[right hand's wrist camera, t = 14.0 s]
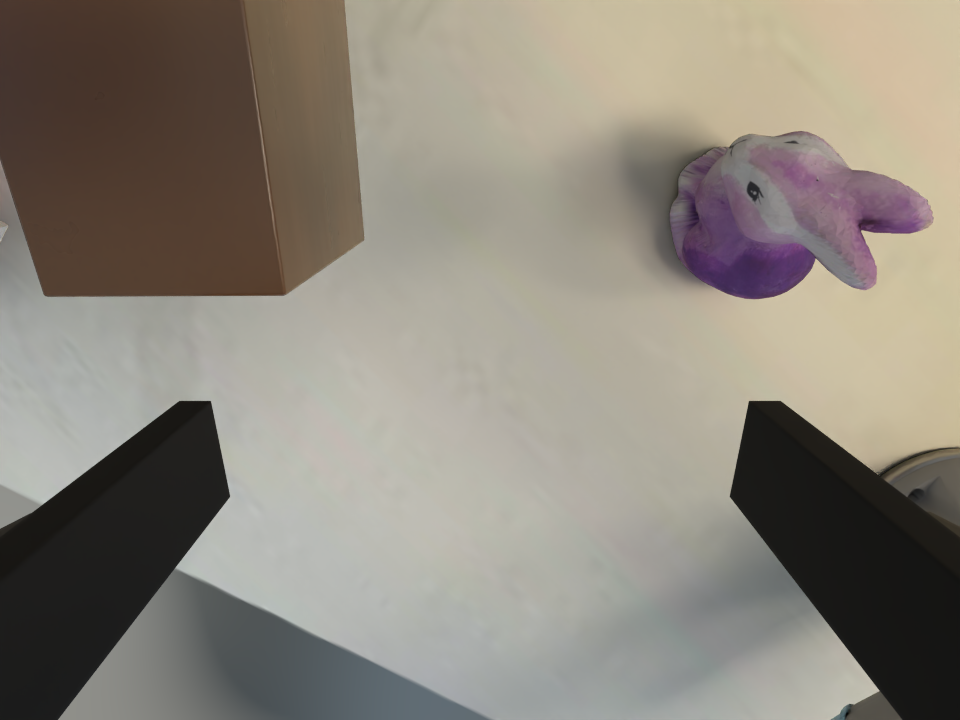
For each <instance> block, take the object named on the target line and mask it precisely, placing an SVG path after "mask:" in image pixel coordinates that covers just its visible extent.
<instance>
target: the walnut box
mask: <svg viewBox="0 0 960 720" xmlns="http://www.w3.org/2000/svg"><path fill="white" fill-rule="evenodd" d="M0 160H1V163H2V166H3V169H4V173H5V176H6V179H7V182H8V185H9V188H10V191H11V194H12V197H13V200H14V204H15V207H16V210H17V213H18V216H19V219H20V222H21V225H22V228H23V231H24V235H25V238H26V241H27V244H28V247H29V250H30V253H31V256H32V259H33V263H34V266H35V269H36V272H37V275H38V278H39V281H40V284H41V287H42V290H43V294H44V295H45V296H47V297H105V296H284V295H286V294H288V293H289V292H291V291H292V290H293V289H295V288H296V287H298V286H299V285H301V284H302V283H303V282H305V281H306V280H308V279H309V278H311V277H312V276H314V275H315V274H316V273H318V272H319V271H321V270H322V269H324V268H325V267H326V266H328V265H329V264H331V263H332V262H334V261H335V260H337V259H338V258H339V257H341V256H342V255H344V254H345V253H347V252H348V251H349V250H351V249H352V248H354V247H355V246H357V245H358V244H359V243H361V242H362V241H364V229H363V217H362V205H361V193H360V181H359V170H358V158H357V146H356V134H355V122H354V110H353V98H352V86H351V75H350V63H349V51H348V39H347V27H346V15H345V3H344V0H0Z"/></svg>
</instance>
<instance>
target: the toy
mask: <svg viewBox="0 0 960 720" xmlns="http://www.w3.org/2000/svg"><path fill="white" fill-rule="evenodd" d="M8 226H9V225H7V224H5V223H3V222H2V221H0V242H1V240H2V238H3V236H4V234H5V232H6V230H7V228H8Z"/></svg>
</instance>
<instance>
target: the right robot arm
mask: <svg viewBox="0 0 960 720" xmlns="http://www.w3.org/2000/svg"><path fill="white" fill-rule="evenodd" d="M229 497H230V494H229V489H228V484H227V479H226V474H225V469H224V464H223V459H222V454H221V449H220V444H219V439H218V434H217V429H216V424H215V419H214V414H213V409H212V404H211V401H179V402H178V403H176V404H175V405H174V406H172V407H171V408H170V409H168V410H167V411H166V412H164V413H163V414H162V415H160V416H159V417H158V418H156V419H155V420H154V421H152V422H151V423H150V424H149V425H147V426H146V427H145V428H143V429H142V430H141V431H139V432H138V433H137V434H135V435H134V436H133V437H131V438H130V439H129V440H127V441H126V442H125V443H123V444H122V445H121V446H120V447H118V448H117V449H116V450H114V451H113V452H112V453H110V454H109V455H108V456H106V457H105V458H104V459H102V460H101V461H100V462H98V463H97V464H96V465H94V466H93V467H92V468H91V469H89V470H88V471H87V472H85V473H84V474H83V475H81V476H80V477H79V478H77V479H76V480H75V481H73V482H72V483H71V484H69V485H68V486H67V487H66V488H64V489H63V490H62V491H60V492H59V493H58V494H56V495H55V496H54V497H52V498H51V499H50V500H48V501H47V502H46V503H44V504H43V505H42V506H40V507H39V508H38V509H37V510H35V511H34V512H33V513H31V514H28V515H26V516H24V517H22V518H21V519H19V520H17V521H15V522H13V523H11V524H9V525H7V526H5V527H3V528H1V529H0V720H58V719H59V718H60V716H61V715H62V714H63V712H64V711H65V710H66V708H67V707H68V706H69V705H70V703H71V702H72V701H73V699H74V698H75V697H76V696H77V694H78V693H79V692H80V690H81V689H82V688H83V687H84V685H85V684H86V683H87V681H88V680H89V679H90V677H91V676H92V675H93V673H94V672H95V671H96V670H97V668H98V667H99V666H100V664H101V663H102V662H103V661H104V659H105V658H106V657H107V655H108V654H109V653H110V652H111V650H112V649H113V648H114V646H115V645H116V644H117V642H118V641H119V640H120V639H121V637H122V636H123V635H124V633H125V632H126V631H127V630H128V628H129V627H130V626H131V624H132V623H133V622H134V620H135V619H136V618H137V616H138V615H139V614H140V613H141V611H142V610H143V609H144V607H145V606H146V605H147V604H148V602H149V601H150V600H151V598H152V597H153V596H154V594H155V593H156V592H157V591H158V589H159V588H160V587H161V585H162V584H163V583H164V582H165V580H166V579H167V578H168V576H169V575H170V574H171V572H172V571H173V570H174V569H175V567H176V566H177V565H178V563H179V562H180V561H181V560H182V558H183V557H184V556H185V554H186V553H187V552H188V551H189V549H190V548H191V547H192V545H193V544H194V543H195V541H196V540H197V539H198V538H199V536H200V535H201V534H202V532H203V531H204V530H205V528H206V527H207V526H208V525H209V523H210V522H211V521H212V519H213V518H214V517H215V516H216V514H217V513H218V512H219V510H220V509H221V508H222V506H223V505H224V504H225V503H226V501H227V500H228V499H229ZM730 497H731V499H732V500H733V501H734V503H735V504H736V505H737V506H738V508H739V509H740V510H741V512H742V513H743V514H744V516H745V517H746V518H747V519H748V521H749V522H750V523H751V525H752V526H753V527H754V528H755V530H756V531H757V532H758V534H759V535H760V536H761V538H762V539H763V540H764V541H765V543H766V544H767V545H768V547H769V548H770V549H771V551H772V552H773V553H774V554H775V556H776V557H777V558H778V560H779V561H780V562H781V563H782V565H783V566H784V567H785V569H786V570H787V571H788V573H789V574H790V575H791V576H792V578H793V579H794V580H795V582H796V583H797V584H798V585H799V587H800V588H801V589H802V591H803V592H804V593H805V595H806V596H807V597H808V598H809V600H810V601H811V602H812V604H813V605H814V606H815V607H816V609H817V610H818V611H819V613H820V614H821V615H822V617H823V618H824V619H825V620H826V622H827V623H828V624H829V626H830V627H831V628H832V630H833V631H834V632H835V633H836V635H837V636H838V637H839V639H840V640H841V641H842V642H843V644H844V645H845V646H846V648H847V649H848V650H849V652H850V653H851V654H852V655H853V657H854V658H855V659H856V661H857V662H858V663H859V664H860V666H861V667H862V668H863V670H864V671H865V672H866V674H867V675H868V676H869V677H870V679H871V680H872V681H873V683H874V684H875V685H876V687H877V688H878V689H879V690H880V691H879V692H877V693H875V694H873V695H872V696H870V697H868V698H866V699H864V700H862V701H860V702H858V703H856V704H855V705H853V704H849V705H847V706H845V707H844V708H843V709H842V710H841V713H840V714H839V715H837V716H836V717H834V718H833V719H831V720H960V449H945V450H938V451H933V452H929V453H926V454H922V455H919V456H917V457H914V458H911V459H909V460H907V461H905V462H903V463H901V464H899V465H897V466H895V467H894V468H892V469H890V470H889V471H887V472H886V473H884V474H883V475H882V476H879V475H877V474H876V473H875V472H873V471H872V470H871V469H869V468H868V467H867V466H866V465H864V464H863V463H862V462H860V461H859V460H858V459H856V458H855V457H854V456H852V455H851V454H850V453H848V452H847V451H846V450H844V449H843V448H842V447H840V446H839V445H838V444H837V443H835V442H834V441H833V440H831V439H830V438H829V437H827V436H826V435H825V434H823V433H822V432H821V431H819V430H818V429H817V428H815V427H814V426H813V425H811V424H810V423H809V422H808V421H806V420H805V419H804V418H802V417H801V416H800V415H798V414H797V413H796V412H794V411H793V410H792V409H790V408H789V407H788V406H786V405H785V404H784V403H782V402H781V401H749V404H748V409H747V414H746V419H745V424H744V429H743V434H742V439H741V444H740V449H739V454H738V459H737V464H736V469H735V474H734V479H733V484H732V489H731V494H730Z"/></svg>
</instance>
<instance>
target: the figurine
mask: <svg viewBox="0 0 960 720" xmlns="http://www.w3.org/2000/svg"><path fill="white" fill-rule="evenodd" d="M678 192H679V193H678V196H677V198H676V199H675V200H674V202H673V203H672V206H671V210H670V213H669V215H670V226H671V232H672V236H673V242H674V245H675V249H676V252H677V255H678V258H679V260H680V261H681V262H682V263H683V264H684V266H685V267H686V268H687V269H688V270H689V271H691V272H692V273H693V274H694V275H695V276H696V277H698V278H699V279H700V280H702V281H703V282H705V283H707V284H709V285H711V286H713V287H715V288H717V289H718V290H721V291H723V292H725V293H727V294H730V295H733V296H736V297H741V298H745V299H762V298H769V297H774V296H777V295H780V294H782V293H785V292H787V291H789V290H790V289H792V288H793V287H794V286H796V285H797V284H798V283H799V282H801V281H802V280H803V279H804V278H805V276H806V275H807V274H808V273H809V272H810V270H811V269H812V266H813V264H814V262H815V258H816V259H817V260H818V261H819V262H820V263H821V264H822V265H823V266H824V267H825V268H826V269H827V270H828V271H830V272H831V273H832V274H833V275H835V276H836V277H837V278H839V279H840V280H841V281H842V282H844V283H846V284H848V285H849V286H851V287H853V288H857V289H861V290H867V289H869V288H871V287H873V286H874V285H875V284H876V277H877V266H876V265H875V261H874V259H873V257H872V254H871V253H870V250H869V247H868V246H867V244H866V242H865V240H864V237H863V235H862V233H861V230H864V231H869V232H874V233H913V232H917V231H921V230H923V229H925V228H928V227H929V226H930V225H931V224H932V223H933V216H932V211H931V210H930V205H928V201H927V200H926V199H925V198H923V197H922V196H921V195H920V194H919V193H918V192H916V191H915V190H913V189H912V188H910V187H909V186H906V185H904V184H903V183H901V182H900V181H898V180H894V179H891V178H889V177H887V176H885V175H881V174H876V173H873V172H869V171H859V170H852V169H850V168H849V167H848V166H847V164H846V163H845V161H844V160H843V159H842V157H841V156H840V155H839V154H838V153H837V152H836V151H835V150H834V149H833V148H832V147H831V146H830V145H829V144H828V143H827V142H826V141H825V140H823V139H822V138H820V137H818V136H816V135H813V134H811V133H808V132H803V131H798V132H791V133H787V134H783V135H780V136H775V137H771V136H762V135H755V134H748V135H745V136H742V137H739V138H738V139H737V140H735V141H734V142H733V143H732V144H731V146H730V147H718V148H713V149H711V150H710V151H708V152H707V153H706V154H703V156H700V157H699V158H697V159H696V160H695V161H692V163H689V164H688V165H687V166H686V167H685V168H684V170H682V172H681V173H680V176H679V179H678Z"/></svg>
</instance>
